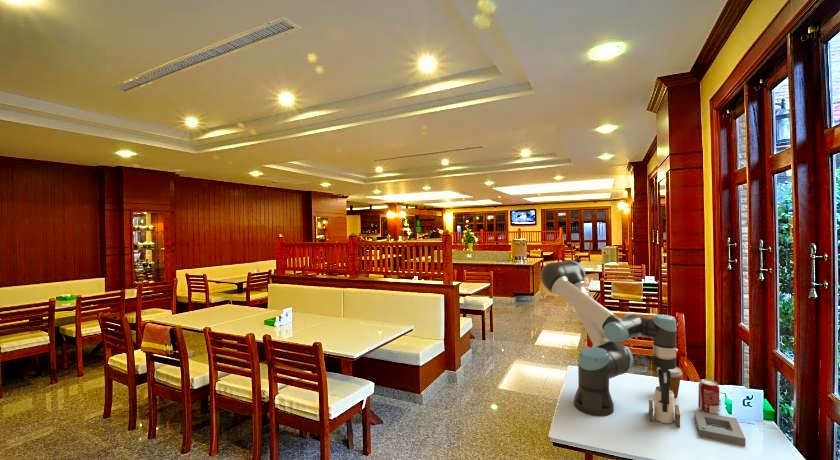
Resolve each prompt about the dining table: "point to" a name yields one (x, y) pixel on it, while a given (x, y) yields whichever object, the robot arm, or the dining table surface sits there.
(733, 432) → the port block
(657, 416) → the can
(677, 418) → the brown narrow blocks
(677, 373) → the disposable coffee cup
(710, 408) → the soda can
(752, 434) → the dining table surface
